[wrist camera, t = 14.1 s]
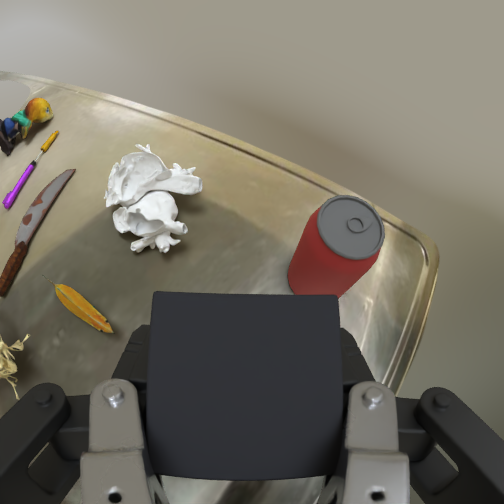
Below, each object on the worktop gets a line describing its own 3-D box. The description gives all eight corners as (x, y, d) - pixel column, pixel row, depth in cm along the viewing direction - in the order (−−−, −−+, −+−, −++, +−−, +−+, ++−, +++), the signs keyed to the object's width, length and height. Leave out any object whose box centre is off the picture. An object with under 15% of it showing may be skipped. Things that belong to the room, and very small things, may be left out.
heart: (115, 143, 33) (202, 139, 30) (140, 169, 39) (220, 171, 36) (81, 236, 30) (171, 249, 27) (114, 252, 36) (197, 266, 34)
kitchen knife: (55, 163, 38) (75, 165, 37) (60, 169, 39) (79, 173, 38) (-18, 282, 29) (-3, 295, 28) (-10, 287, 30) (5, 300, 29)
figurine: (55, 110, 44) (44, 87, 39) (51, 134, 41) (37, 110, 36) (10, 134, 42) (-3, 113, 37) (3, 159, 40) (-13, 138, 34)
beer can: (353, 296, 32) (404, 251, 21) (299, 315, 31) (331, 276, 20) (331, 244, 35) (367, 182, 24) (278, 259, 34) (297, 198, 23)
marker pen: (9, 210, 35) (60, 133, 41) (4, 205, 34) (57, 128, 40) (3, 209, 36) (52, 134, 42) (-2, 205, 35) (49, 130, 41)
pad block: (287, 339, 15) (339, 293, 7) (288, 429, 13) (343, 473, 5) (194, 338, 14) (152, 289, 7) (192, 428, 13) (146, 474, 5)
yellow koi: (131, 331, 29) (107, 316, 24) (121, 348, 28) (95, 336, 24) (64, 280, 32) (40, 262, 28) (56, 294, 32) (31, 277, 27)
